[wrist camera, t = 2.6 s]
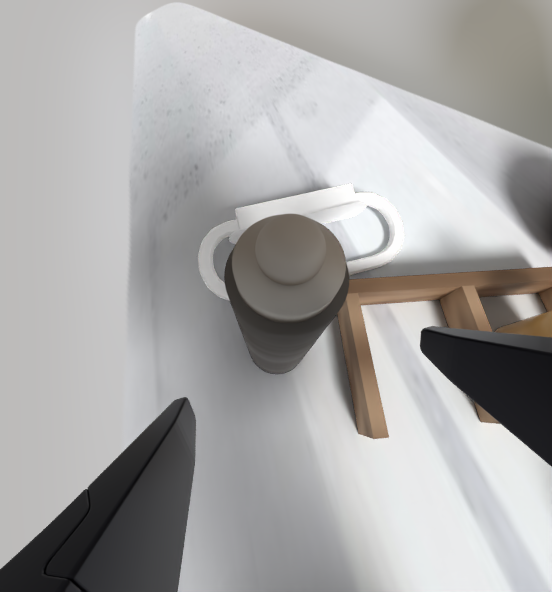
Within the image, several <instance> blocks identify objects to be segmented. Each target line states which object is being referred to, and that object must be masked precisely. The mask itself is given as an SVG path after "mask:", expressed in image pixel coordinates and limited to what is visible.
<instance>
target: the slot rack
mask: <svg viewBox="0 0 552 592" xmlns="http://www.w3.org/2000/svg"><path fill="white" fill-rule="evenodd" d="M533 293H538V294H539V296H540V298H541V300H542V302H543V304H544V306H545V308H546V310H547V312H549V311H552V267H542V268H526V269H510V270H494V271H478V272H462V273H446V274H429V275H413V276H397V277H381V278H365V279H349V289H348V294H347V297H346V300H345V302H344V304H343V306H342V307H341V309H340V310H339V312H338V313H337V315H338V321H339V326H340V332H341V338H342V343H343V349H344V355H345V360H346V366H347V371H348V377H349V383H350V388H351V394H352V400H353V405H354V411H355V416H356V422H357V428H358V433H359V434H361V435H364V436H367V437H370V438H373V439H378V438H388V437H389V435H388V431H387V426H386V421H385V417H384V412H383V407H382V403H381V398H380V393H379V389H378V384H377V380H376V375H375V370H374V366H373V361H372V356H371V352H370V347H369V342H368V338H367V333H366V329H365V324H364V319H363V315H362V310H361V305H371V304H386V303H401V302H415V301H430V300H440V303H441V306H442V309H443V312H444V315H445V318H446V321H447V324H448V327H449V328H457V329H467V330H478V331H489V332H493V331H492V329H491V326H490V324H489V321H488V319H487V316H486V314H485V311H484V309H483V306H482V304H481V301H480V299H479V297H489V296H503V295H518V294H533ZM474 403H475V406H476V409H477V412H478V415H479V418H480V421H481V422H486V423H497V424H501V423H499V422H498V421H497V420H496V419H495V418H493V417H492V416H491V415H490V414H489V413H488V412H486V411H485V410H484V409H483V408H482V407H480V406H479V405H478V404H477V403H476V402H475V401H474Z"/></svg>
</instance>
